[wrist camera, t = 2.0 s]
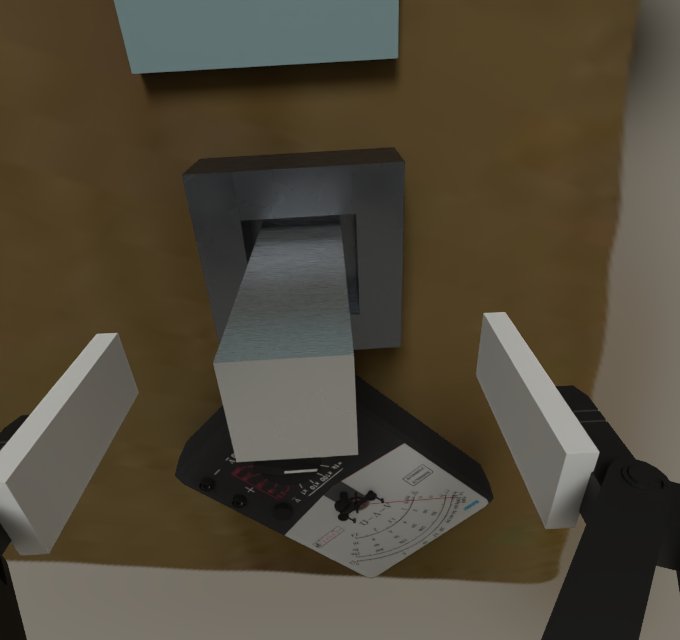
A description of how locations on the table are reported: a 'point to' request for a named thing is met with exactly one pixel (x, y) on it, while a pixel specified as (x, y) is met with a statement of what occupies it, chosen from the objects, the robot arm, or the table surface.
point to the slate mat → (254, 32)
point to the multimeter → (347, 486)
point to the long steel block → (291, 347)
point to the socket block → (304, 201)
